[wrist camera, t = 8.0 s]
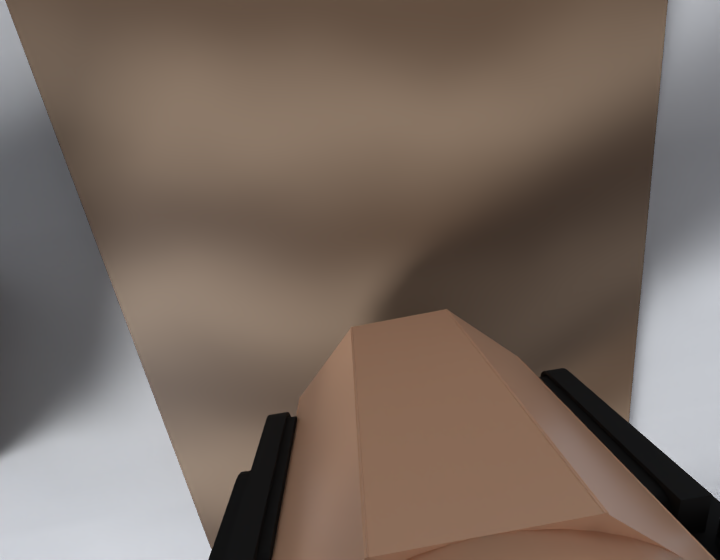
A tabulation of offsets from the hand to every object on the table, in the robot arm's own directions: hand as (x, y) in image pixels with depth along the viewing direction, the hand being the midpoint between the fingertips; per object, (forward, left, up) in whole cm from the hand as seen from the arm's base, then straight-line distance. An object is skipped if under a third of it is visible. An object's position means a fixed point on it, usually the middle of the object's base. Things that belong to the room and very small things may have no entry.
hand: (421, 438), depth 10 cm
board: (+4, -4, -5) cm, 8 cm away
